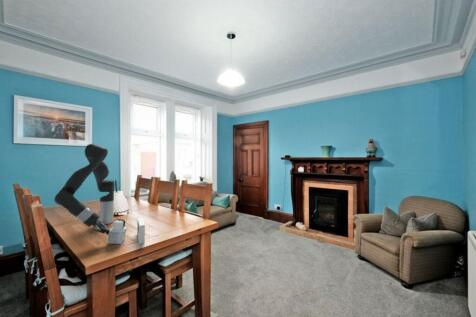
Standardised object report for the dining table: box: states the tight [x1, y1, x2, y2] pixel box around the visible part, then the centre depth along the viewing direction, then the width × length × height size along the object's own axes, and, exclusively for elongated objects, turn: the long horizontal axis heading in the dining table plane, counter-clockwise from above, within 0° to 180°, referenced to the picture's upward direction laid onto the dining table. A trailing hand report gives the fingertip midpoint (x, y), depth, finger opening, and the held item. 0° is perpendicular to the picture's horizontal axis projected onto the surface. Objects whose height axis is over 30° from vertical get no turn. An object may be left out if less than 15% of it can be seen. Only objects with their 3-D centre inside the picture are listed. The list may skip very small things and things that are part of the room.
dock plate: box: [136, 217, 146, 245], centre depth 137 cm, size 3×18×11 cm, turn 29°
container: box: [107, 218, 127, 245], centre depth 130 cm, size 8×8×13 cm
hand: (111, 234), depth 129 cm, fingers closed
